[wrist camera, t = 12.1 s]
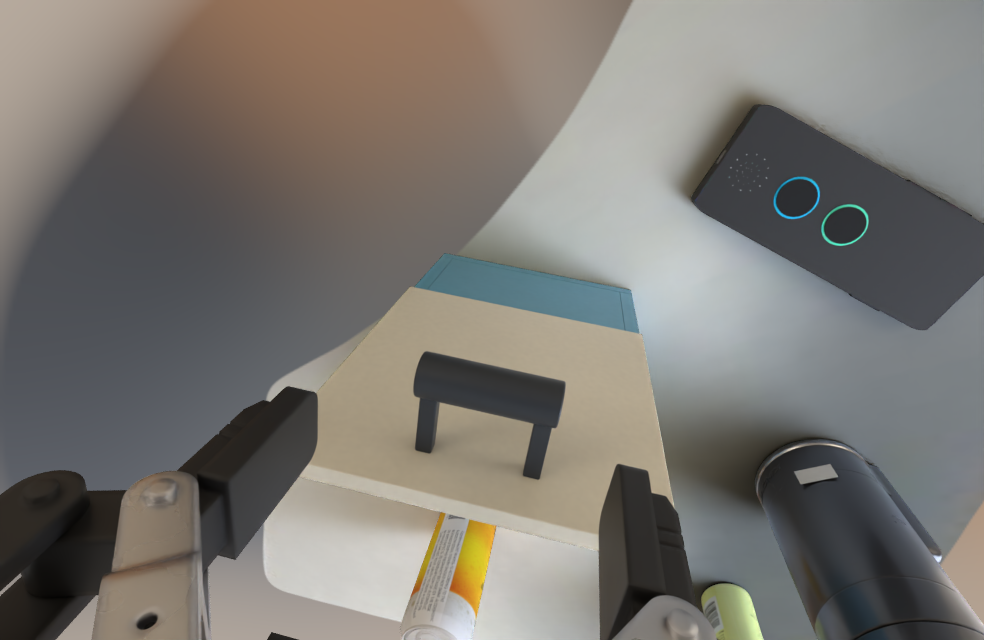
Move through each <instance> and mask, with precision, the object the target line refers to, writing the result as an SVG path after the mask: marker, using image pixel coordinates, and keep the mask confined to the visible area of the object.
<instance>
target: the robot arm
mask: <svg viewBox="0 0 984 640" xmlns="http://www.w3.org/2000/svg"><path fill="white" fill-rule="evenodd" d="M317 440H318V397H317V394H316V393H315V392H311V391H307V390H302V389H298V388H294V387H289V386H288V387H286V388H284V389H283V390H282V391H281V392H280V393H279V394H278V395H277V396H276V397H275V398H274V399H273V400H272V401H271V402H269V401H264V400H263V401H260V402H258V403H256V404H254V405H252V406H250V407H248V408H246V409H244V410H243V411H242V412H241V413H240V414H238V415H237V416H236V417H235V418H234V419H233V420H232V421H231V423H230V424H227V425H226V426H225V427H224V428H223V429H222V430H221V431H220V433H219V435H218V434H217V435H215V436H214V437H213V438H212V439H211V440H210V441H209V442H208V443H207V444H206V445H205V446H203V447H202V448H201V449H200V450H199V451H198V452H197V453H196V454H195V455H194V456H193V457H192V458H190V459H189V460H188V461H187V462H186V463H185V464H184V465H183V466H182V467H180V468H179V469H178V470H177V471H165V472H160V473H156V474H153V475H150V476H148V477H145V478H143V479H141V480H140V481H138V482H136V483H135V484H133V485H132V486H131V487H130V488H129V489H128V490H120V491H119V490H118V491H117V490H116V491H115V490H114V491H87V489H86V484H85V480H84V479H83V477H82V476H81V475H80V474H78V473H76V472H72V471H65V470H64V471H63V470H58V471H50V472H44V473H41V474H37V475H34V476H31V477H28V478H26V479H24V480H22V481H20V482H18V483H17V484H15V485H13V486H12V487H10V488H9V489H8V490H6V491H5V492H4V493H2V494H1V495H0V591H1V590H2V589H3V588H4V587H6V585H8V584H9V583H10V582H11V581H12V580H13V579H14V578H15V577H16V576H18V575H19V574H20V573H21V575H22V577H21V578H19V579H18V580H17V581H16V582H15V583H14V584H13V585H12V586H11V587H10V588H9V589H8V590H6V591H5V592H4V593H3V594H2V595H1V596H0V640H55V639H57V638H58V636H59V635H60V634H61V633H62V632H63V631H64V630H65V629H66V628H67V626H68V625H69V624H70V623H71V622H72V621H73V620H74V619H75V618H76V617H77V615H78V614H79V613H80V612H81V611H82V610H83V609H84V608H85V607H86V606H87V604H88V603H89V602H90V601H91V600H92V599H93V598H94V597H95V596H96V595H99V597H98V603H97V609H96V615H95V621H94V628H93V634H92V640H211V613H210V586H209V569H208V566H209V565H210V564H211V563H212V561H213V560H214V559H215V558H216V557H217V555H220V556H223V557H227V558H231V559H234V560H236V558H237V557H238V556H239V554H240V553H241V552H242V550H243V549H244V548H245V546H246V545H247V544H248V542H249V541H250V540H251V539H252V537H253V536H254V535H255V533H256V532H257V531H258V529H259V528H260V527H261V525H262V524H263V523H264V522H265V520H266V519H267V518H268V516H269V515H270V514H271V512H272V511H273V510H274V508H275V507H276V506H277V504H278V503H279V502H280V500H281V499H282V498H283V497H284V495H285V494H286V493H287V491H288V490H289V489H290V487H291V486H292V485H293V483H294V482H295V481H296V479H297V478H298V477H299V475H300V474H301V473H302V472H303V470H304V469H305V468H306V466H307V465H308V464H309V462H310V461H311V459H312V457H313V455H314V452H315V450H316V446H317ZM755 490H756V494H757V496H758V499H759V501H760V503H761V505H762V506H763V508H764V510H765V513H766V515H767V518H768V520H769V523H770V525H771V528H772V530H773V533H774V535H775V538H776V540H777V542H778V545H779V547H780V550H781V552H782V554H783V557H784V559H785V562H786V564H787V566H788V569H789V571H790V574H791V576H792V579H793V581H794V583H795V586H796V588H797V591H798V593H799V595H800V598H801V600H802V603H803V605H804V607H805V610H806V612H807V615H808V617H809V619H810V622H811V624H812V627H813V629H814V632H815V634H816V636H817V639H818V640H984V624H983V623H982V622H981V621H980V619H979V618H978V616H977V615H976V613H975V612H974V611H973V610H972V608H971V607H970V605H969V604H968V603H967V601H966V600H965V599H964V597H963V596H962V595H961V593H960V592H959V591H958V589H957V588H956V587H955V585H954V584H953V582H952V581H951V580H950V579H949V577H948V576H947V574H946V573H945V571H944V570H943V569H942V567H941V566H940V565H939V562H940V560H941V559H942V552H941V550H940V548H939V547H938V545H937V544H936V543H935V541H934V540H933V539H932V538H931V536H930V535H929V534H928V532H927V531H926V530H925V528H924V527H923V526H922V524H921V523H920V522H919V520H918V519H917V518H916V516H915V515H914V514H913V513H912V511H911V510H910V509H909V507H908V506H907V505H906V503H905V502H904V501H903V499H902V498H901V497H900V495H899V494H898V493H897V492H896V490H895V489H894V488H893V486H892V485H891V484H890V482H889V481H888V480H887V478H886V477H885V476H884V474H883V473H882V472H881V470H880V469H879V468H878V467H877V466H873V465H869V464H867V462H866V461H865V460H864V458H863V457H862V456H861V455H860V454H859V453H858V452H857V451H855V450H854V449H852V448H851V447H849V446H847V445H845V444H842V443H839V442H835V441H831V440H824V439H810V440H803V441H798V442H794V443H791V444H788V445H786V446H784V447H782V448H780V449H778V450H776V451H775V452H773V453H772V454H771V455H769V456H768V457H767V458H766V459H765V460H764V462H763V463H762V464H761V466H760V467H759V469H758V471H757V474H756V477H755ZM599 602H600V640H719V639H717V638H716V634H715V631H714V629H713V627H712V625H711V624H710V622H709V621H708V619H707V618H706V617H705V616H704V615H703V613H702V612H701V611H699V610H698V609H697V605H696V601H695V596H694V591H693V586H692V581H691V576H690V571H689V566H688V561H687V556H686V551H685V550H684V541H683V537H682V535H681V527H680V522H679V517H678V513H677V512H676V510H675V509H674V507H673V506H672V504H671V503H670V501H669V500H668V498H667V497H666V496H664V495H660V494H655V493H652V492H651V485H650V478H649V473H648V471H647V470H644V469H640V468H635V467H631V466H627V465H622V464H617V465H616V467H615V470H614V473H613V476H612V479H611V482H610V486H609V489H608V492H607V495H606V498H605V501H604V504H603V508H602V511H601V516H600V522H599ZM267 640H297V639H294V638H290V637H287V636H283V635H280V634H276V633H273V632H271V634H270V636H269V637H268V639H267Z"/></svg>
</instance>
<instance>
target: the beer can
mask: <svg viewBox="0 0 984 640" xmlns="http://www.w3.org/2000/svg"><path fill="white" fill-rule="evenodd" d="M495 530H496V526H494V525H490V524H486V523H482V522H478V521H474V520H470V519H466V518H462V517H458V516H454V515H450V514H446V513H442V512H441V513H440V516H439V519H438V521H437V524H436V527H435V530H434V533H433V536H432V538H431V541H430V544H429V547H428V550H427V552H426V555H425V558H424V561H423V564H422V566H421V569H420V572H419V575H418V578H417V580H416V583H415V586H414V589H413V592H412V594H411V597H410V600H409V603H408V606H407V608H406V611H405V614H404V617H403V620H402V622H401V626H400V632H401V640H472V636H473V631H474V627H475V622H476V617H477V613H478V608H479V604H480V599H481V595H482V590H483V585H484V581H485V576H486V572H487V567H488V562H489V558H490V553H491V549H492V544H493V539H494V535H495Z"/></svg>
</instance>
